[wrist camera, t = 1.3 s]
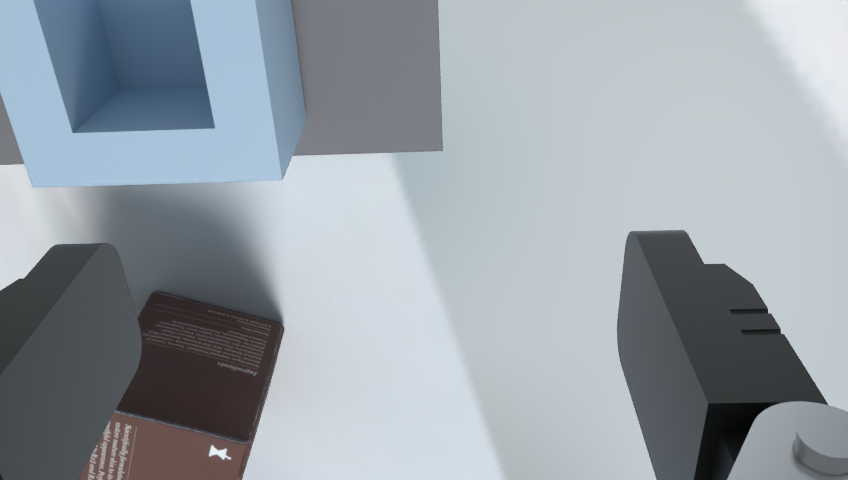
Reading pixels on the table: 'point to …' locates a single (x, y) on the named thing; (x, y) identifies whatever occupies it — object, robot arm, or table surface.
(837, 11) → the table surface
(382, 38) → the mat
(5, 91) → the blue block with hole
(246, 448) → the box
